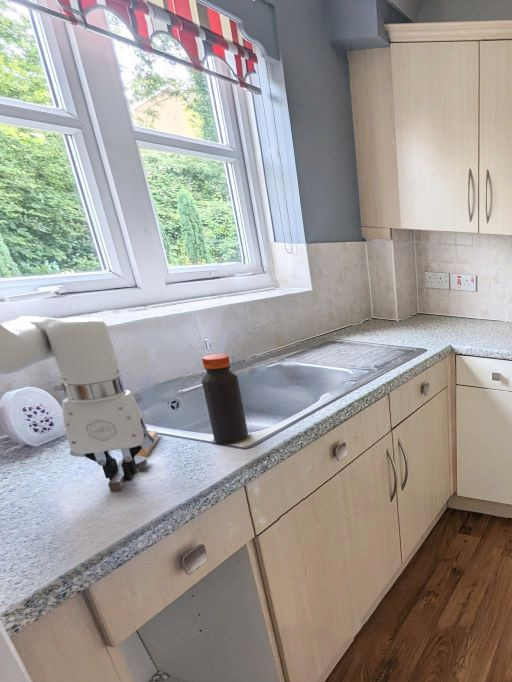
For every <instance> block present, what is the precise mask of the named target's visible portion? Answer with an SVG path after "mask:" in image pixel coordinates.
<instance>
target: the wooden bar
mask: <svg viewBox="0 0 512 682" xmlns="http://www.w3.org/2000/svg"><path fill="white" fill-rule="evenodd" d="M147 432H148V433H149V434H150V436H151V437H152V438H153V439H154V440H155V442H154V444H153V445H152V446H150V447H148V448H146V449H143V450H141V451H140V452H139V453H138V454H137V455H136V456H145V457H146V458H147V457H148V456H149V454H150V452H151V451H152V449H153V447H154V446H155V444H156V443H157V441H158V439H159V435H158V430H154V431H147Z"/></svg>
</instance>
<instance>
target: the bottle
mask: <svg viewBox="0 0 512 682" xmlns="http://www.w3.org/2000/svg"><path fill="white" fill-rule="evenodd" d="M201 361H202V365H203V368H204V371H206V373H205V374H204V376H203V377H202V379H201V384H202V389H203V393H204V399H205V403H206V408H207V412H208V417H209V422H210V426H211V431H212V435H213V439H214V442H215V443H216V444H220V445H231V444H235V443H239V442H242V441H244V440H246V439H247V438H248V437H249V432H248V426H247V421H246V415H245V411H244V405H243V400H242V395H241V390H240V389H241V388H240V384H239V383H240V382H239V379H238V376H237V374H235V373H234V372H233V371H230V368H231V363H230V357H229V354H224V353H215V354H214V353H213V354H207V355H204V356H203V357H201Z"/></svg>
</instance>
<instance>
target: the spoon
mask: <svg viewBox="0 0 512 682" xmlns="http://www.w3.org/2000/svg"><path fill="white" fill-rule="evenodd" d="M134 459H135V462H136V466H137V469H138V470H139V469H141V468H144V467H146V466H147V465H148V460H147V456H146V457H145V456H135V457H134ZM122 462H123V459H121V460H120V461H118V462H117V465H118V468H119V469H118V470H117V472H116V473H115V474H114V476H113V477H112V479H111V480H109V482H108V483H107V485H108V489H109V491H110V493H111V494H113V493H114V494H115V493H120V492H123V490H124V489H125V487H126V486H127V484H128V483H129V481H126V478H125V475H124V472H123V469H122V466H121V463H122Z"/></svg>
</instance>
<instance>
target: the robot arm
mask: <svg viewBox="0 0 512 682" xmlns="http://www.w3.org/2000/svg"><path fill="white" fill-rule="evenodd" d="M107 325H108V324H107V323H105V321H104V320H102V319H100V318H98V317H93V316H75V317H65V318H57V317H56V318H55V317H54V318H53V317H44V316H32V315H20V316H14V317H9V318H6V319H2V320H0V375H8V374H13V373H17V372H20V371H23V370H25V369H27V368H29V367H31V366H33V365H36V364H37V363H40V362H43V361H46V360H49V359H52V358H54V360H55V364H56V366H57V370H58V373H59V375H60V379H61V380H62V382H61V383H59V384H54V385H53V391H54V392H55V393H61V394H64V395H65V397H66V398H64V399H62V402H61V410H62V418H63V426H64V430H65V434H66V439H67V443H68V445H69V448H70V451H69V455H70V456H72V457H79V458H87V459H89V460H91V461H93V462H95V463H97V465H98V466H101V467H102V470H103V474H104V476H105V479H108V481H110V480H111V479H112V477H113V476H114V474H115V473H116V472H117V470H118V469H119V467H118V462H117V459H116V458H115V457H113V456H112V455H111V452H110V451H117V450H120V451H121V456H122V460H123V462H122V463H121V466H122V469H123V472H124V475H125V478H126V481H128V482H132V481H133V479H134V478H135V476H136V475H137V474H138V472H139V469H137V466H136V462H135V459H134V457H135V456H136V455H137V454H138V453H139V452H140V451H141V450H143V449H146V448H148V447H150V446H152V445H153V444H154V442H155V440H154V439H153V438H152V437H151V436H150V434H149V433H148V432H149V431H148V428H147V424H146V422H145V418H144V416H143V414H142V411H141V409H140V406H139V404H138V403H137V401H136V399H135V397H134V395H133V394H132V392H131V391H130V390H129V389H126V388H125V384H124V381H123V377H122V374H121V370H120V367H119V363H118V360H117V356H116V352H115V348H114V346H113V341H112V339H111V335H110V331H109V329H108V326H107ZM154 445H155V444H154Z"/></svg>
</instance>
